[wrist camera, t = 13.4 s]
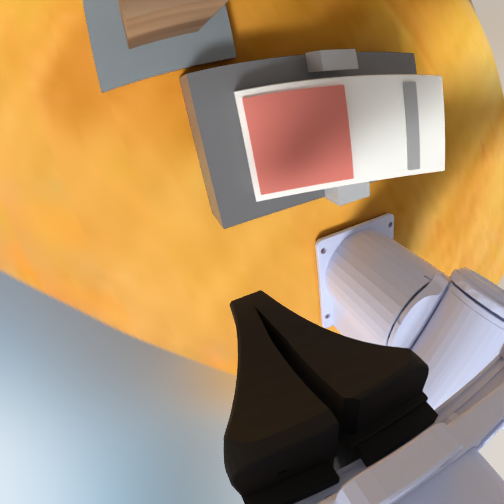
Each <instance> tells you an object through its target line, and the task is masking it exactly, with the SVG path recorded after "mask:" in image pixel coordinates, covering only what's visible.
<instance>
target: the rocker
mask: <svg viewBox="0 0 504 504" xmlns="http://www.w3.org/2000/svg"><path fill="white" fill-rule="evenodd" d="M234 95H235V100H236V105H237V110H238V115H239V120H240V124H241V129H242V134H243V139H244V144H245V149H246V154H247V159H248V164H249V169H250V174H251V179H252V184H253V189H254V194H255V198H256V202H258V201H263V200H268V199H273V198H278V197H283V196H289V195H294V194H299V193H305V192H310V191H316V190H321V189H327V188H333V187H339V186H345V185H351V184H357V183H363V182H369V181H375V180H382V179H388V178H395V177H402V176H409V175H416V174H423V173H430V172H438V171H445V118H444V98H443V85H442V76H438V75H422V74H384V75H358V76H343V77H330V78H319V79H310V80H301V81H293V82H286V83H279V84H272V85H266V86H260V87H254V88H248V89H243V90H238V91H234Z"/></svg>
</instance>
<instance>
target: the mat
mask: <svg viewBox="0 0 504 504" xmlns="http://www.w3.org/2000/svg"><path fill="white" fill-rule="evenodd" d="M83 4H84V10H85V16H86V22H87V27H88V32H89V37H90V42H91V47H92V52H93V57H94V61H95V66H96V70H97V74H98V78H99V83H100V87H101V91H102V93H104V92H106V91H109V90H112V89H115V88H118V87H121V86H124V85H127V84H130V83H133V82H137V81H140V80H143V79H147V78H150V77H154V76H157V75H161V74H165V73H168V72H172V71H176V70H180V69H184V68H189V67H193V66H197V65H202V64H207V63H212V62H217V61H222V60H228V59H233V58H236V57H237V55H236V50H235V46H234V41H233V36H232V32H231V27H230V22H229V18H228V13H227V9H226V4H225V5H223V6H222V7H221V8H220V9H219V10H218V11H217V12H216V13H215V14H214V15H213V16H212V17H211V18H210V19H209V20H208V21H207V22H206V23H205V24H204V25H203V26H202V27H201V29H200V30H199V31H198V32H194V33H189V34H184V35H180V36H176V37H172V38H168V39H164V40H160V41H156V42H153V43H149V44H145V45H142V46H139V47H135V48H132V49H129V48H128V44H127V40H126V36H125V31H124V27H123V22H122V18H121V13H120V9H119V4H118V0H83Z"/></svg>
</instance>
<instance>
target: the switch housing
mask: <svg viewBox="0 0 504 504" xmlns="http://www.w3.org/2000/svg"><path fill="white" fill-rule="evenodd" d="M384 74H417V73H416V65H415V57H414V53H398V52H356V50H355V49H335V50H318V51H313V52H307V53H305V55H295V56H285V57H276V58H269V59H261V60H254V61H248V62H242V63H236V64H230V65H225V66H220V67H215V68H210V69H205V70H200V71H196V72H192V73H187V74H185V75H183V76H182V77H180V78H179V79H180V84H181V88H182V92H183V97H184V101H185V105H186V109H187V114H188V118H189V122H190V126H191V130H192V134H193V138H194V142H195V146H196V151H197V155H198V159H199V163H200V167H201V171H202V175H203V178H204V182H205V186H206V190H207V194H208V198H209V202H210V206H211V210H212V213H213V215H214V216H215V218H216V219H217V220H218V222H219V223H220V225H221V226H222V227H223V229H226V228H229V227H232V226H235V225H238V224H241V223H244V222H247V221H250V220H253V219H256V218H259V217H262V216H265V215H268V214H271V213H274V212H278V211H281V210H284V209H287V208H290V207H293V206H296V205H300V204H303V203H306V202H309V201H312V200H315V199H319V198H322V197H325V198H326V199H328V200H330V201H332V202H333V203H335V204H337V205H339V206H341V205H344V204H347V203H350V202H353V201H356V200H359V199H362V198H365V197H368V196H370V187H369V183H371V182H375V181H378V180H375V181H369V182H363V183H357V184H351V185H345V186H339V187H333V188H327V189H321V190H316V191H310V192H305V193H299V194H294V195H289V196H283V197H278V198H273V199H268V200H263V201H258V202H256V198H255V194H254V189H253V184H252V179H251V174H250V169H249V164H248V159H247V154H246V149H245V144H244V139H243V134H242V129H241V124H240V120H239V115H238V110H237V105H236V100H235V95H234V91H238V90H243V89H248V88H254V87H260V86H266V85H272V84H279V83H286V82H293V81H301V80H310V79H319V78H330V77H343V76H358V75H384Z"/></svg>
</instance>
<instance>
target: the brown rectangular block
mask: <svg viewBox="0 0 504 504" xmlns="http://www.w3.org/2000/svg"><path fill="white" fill-rule="evenodd" d="M228 1H229V0H118V4H119V9H120V13H121V18H122V22H123V27H124V31H125V36H126V40H127V44H128V48H129V49H132V48H135V47H139V46H142V45H145V44H149V43H153V42H156V41H160V40H164V39H168V38H172V37H176V36H180V35H184V34H189V33H194V32H198V31H199V30H200V29H201V27H202V26H203V25H204V24H205V23H206V22H207V21H208V20H209V19H210V18H211V17H212V16H213V15H214V14H215V13H216V12H217V11H218V10H219V9H220V8H221V7H222V6H223V5H225V4H226V3H227V2H228Z"/></svg>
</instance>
